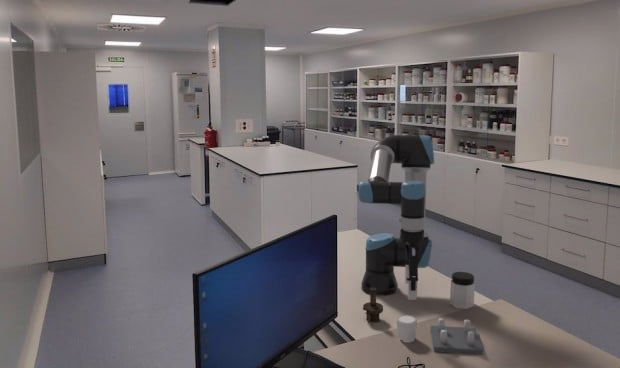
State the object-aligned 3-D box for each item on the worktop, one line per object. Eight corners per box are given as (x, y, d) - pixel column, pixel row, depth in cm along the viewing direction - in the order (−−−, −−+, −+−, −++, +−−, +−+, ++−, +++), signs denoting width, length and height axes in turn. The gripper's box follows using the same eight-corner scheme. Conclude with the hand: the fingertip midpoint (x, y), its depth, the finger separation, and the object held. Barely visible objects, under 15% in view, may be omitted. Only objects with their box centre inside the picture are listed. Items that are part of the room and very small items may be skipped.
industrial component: (369, 326, 179) (369, 294, 176) (358, 318, 185) (358, 287, 183) (391, 320, 183) (391, 289, 180) (380, 312, 189) (380, 282, 187)
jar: (462, 311, 189) (463, 281, 187) (445, 303, 196) (446, 274, 194) (478, 305, 194) (479, 276, 192) (461, 298, 201) (462, 269, 199)
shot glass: (414, 344, 165) (415, 325, 164) (394, 341, 168) (394, 321, 166) (418, 335, 172) (418, 316, 170) (398, 332, 174) (398, 313, 173)
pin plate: (430, 329, 175) (430, 314, 174) (475, 332, 173) (475, 317, 172) (433, 351, 161) (434, 335, 160) (482, 354, 158) (483, 338, 157)
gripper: (398, 219, 175) (397, 277, 179) (402, 239, 151) (401, 306, 155) (420, 219, 174) (418, 277, 178) (428, 240, 150) (426, 307, 154)
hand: (410, 291), depth 166 cm, fingers open, 13 cm apart
